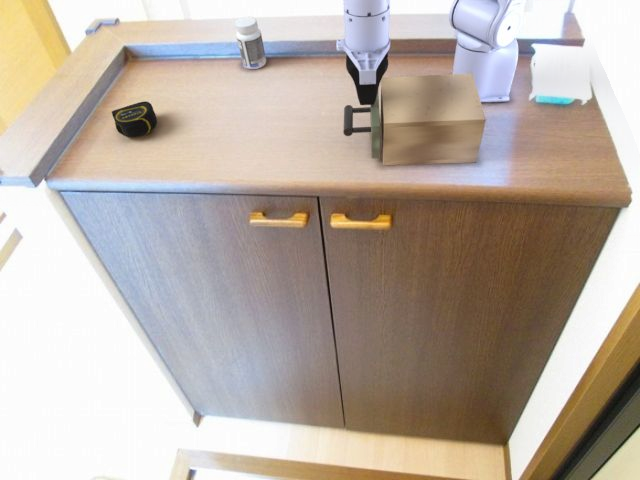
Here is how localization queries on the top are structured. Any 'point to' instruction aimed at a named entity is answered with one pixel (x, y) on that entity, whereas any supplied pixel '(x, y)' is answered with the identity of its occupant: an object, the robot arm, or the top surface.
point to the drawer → (373, 129)
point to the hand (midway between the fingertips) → (367, 102)
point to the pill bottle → (250, 43)
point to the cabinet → (431, 119)
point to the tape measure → (135, 119)
